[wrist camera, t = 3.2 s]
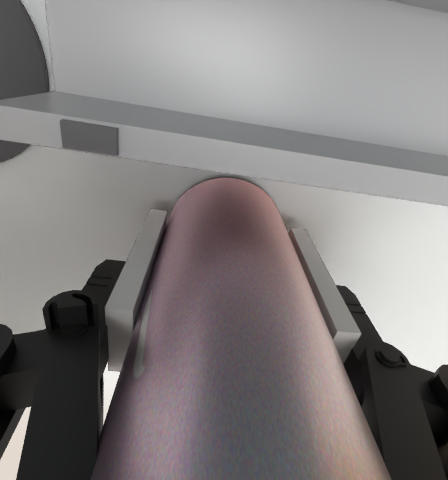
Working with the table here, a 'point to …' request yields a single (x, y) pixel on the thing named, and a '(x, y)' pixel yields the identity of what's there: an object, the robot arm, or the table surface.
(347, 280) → the table surface
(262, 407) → the beverage can
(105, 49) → the grey rectangular tray
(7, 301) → the table surface
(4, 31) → the coaster
